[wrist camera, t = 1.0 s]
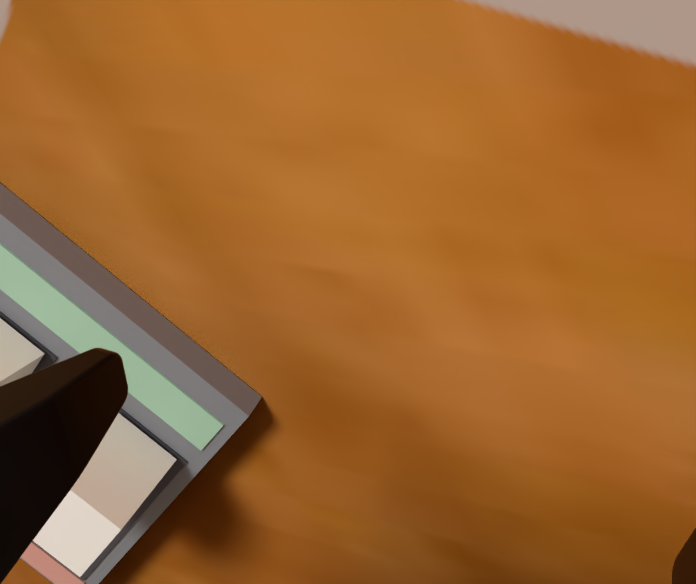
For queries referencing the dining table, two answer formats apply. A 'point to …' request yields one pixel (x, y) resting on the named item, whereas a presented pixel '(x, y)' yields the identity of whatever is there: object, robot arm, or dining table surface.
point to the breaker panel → (137, 355)
